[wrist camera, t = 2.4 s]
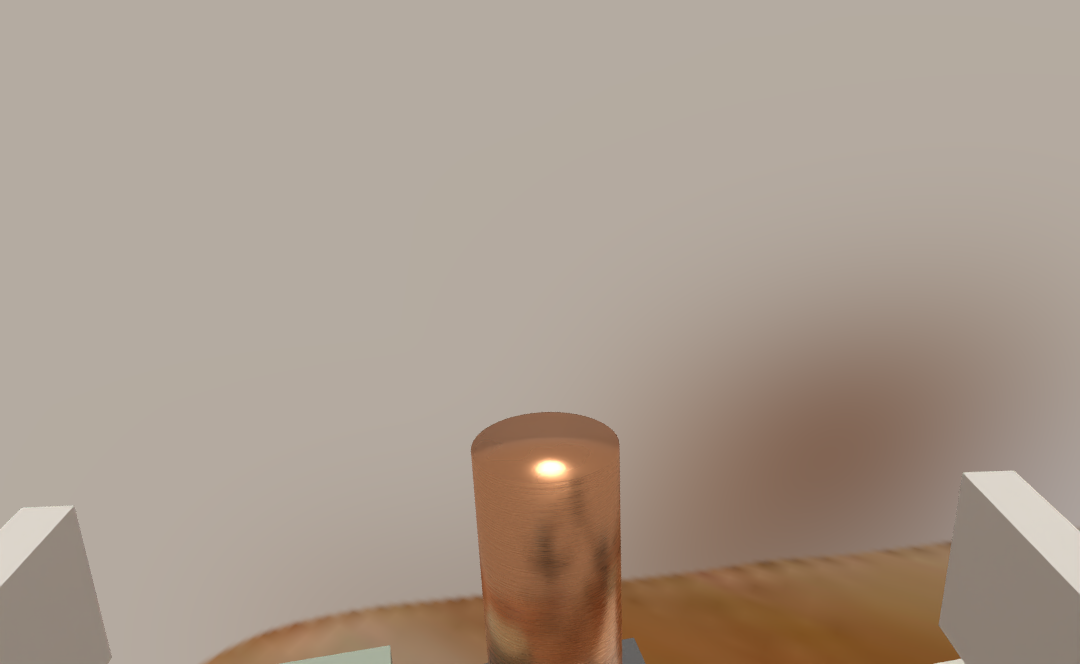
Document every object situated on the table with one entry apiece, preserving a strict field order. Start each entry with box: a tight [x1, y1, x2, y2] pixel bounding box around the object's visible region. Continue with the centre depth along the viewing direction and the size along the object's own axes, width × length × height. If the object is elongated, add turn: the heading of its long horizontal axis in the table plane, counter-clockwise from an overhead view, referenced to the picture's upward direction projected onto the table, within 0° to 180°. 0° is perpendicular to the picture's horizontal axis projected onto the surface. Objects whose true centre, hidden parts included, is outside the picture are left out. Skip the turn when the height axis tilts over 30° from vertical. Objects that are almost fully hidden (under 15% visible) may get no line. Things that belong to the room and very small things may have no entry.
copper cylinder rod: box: [471, 412, 645, 664], centre depth 26 cm, size 7×7×13 cm
